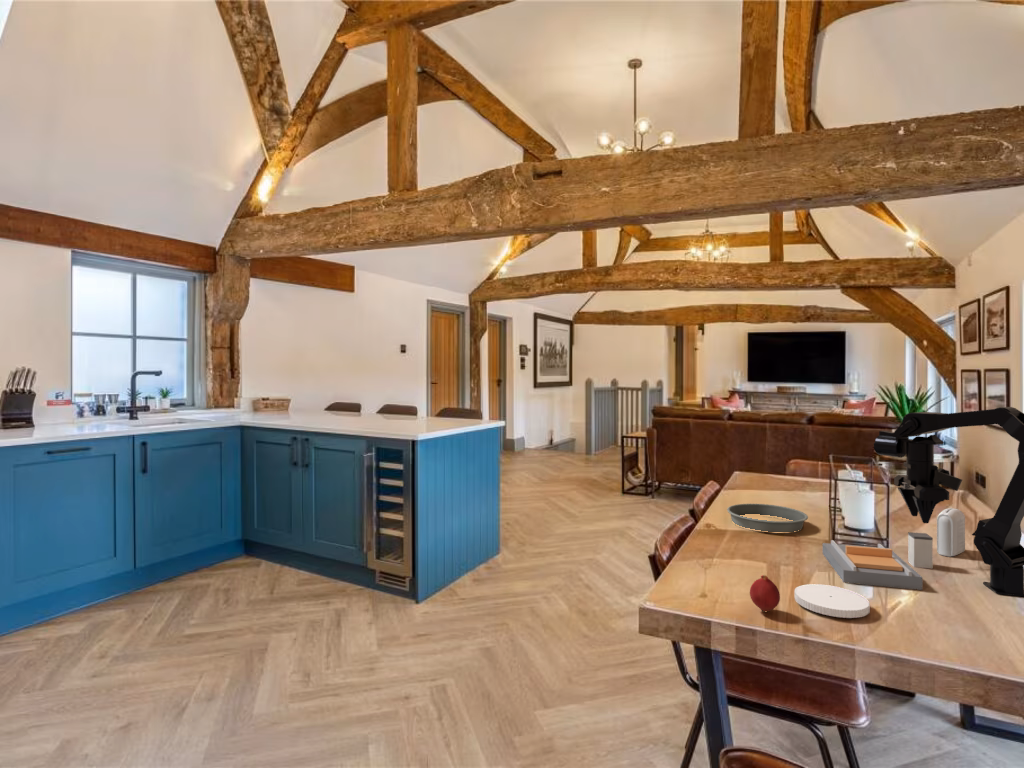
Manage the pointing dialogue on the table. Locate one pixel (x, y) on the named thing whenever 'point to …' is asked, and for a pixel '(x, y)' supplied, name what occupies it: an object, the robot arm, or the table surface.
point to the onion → (764, 594)
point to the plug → (920, 550)
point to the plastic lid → (832, 600)
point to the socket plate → (870, 570)
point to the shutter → (872, 558)
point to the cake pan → (767, 509)
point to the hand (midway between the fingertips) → (919, 519)
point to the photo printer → (950, 532)
